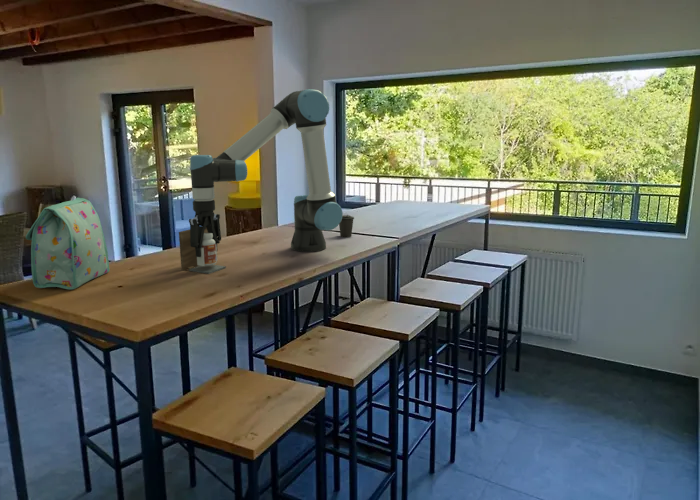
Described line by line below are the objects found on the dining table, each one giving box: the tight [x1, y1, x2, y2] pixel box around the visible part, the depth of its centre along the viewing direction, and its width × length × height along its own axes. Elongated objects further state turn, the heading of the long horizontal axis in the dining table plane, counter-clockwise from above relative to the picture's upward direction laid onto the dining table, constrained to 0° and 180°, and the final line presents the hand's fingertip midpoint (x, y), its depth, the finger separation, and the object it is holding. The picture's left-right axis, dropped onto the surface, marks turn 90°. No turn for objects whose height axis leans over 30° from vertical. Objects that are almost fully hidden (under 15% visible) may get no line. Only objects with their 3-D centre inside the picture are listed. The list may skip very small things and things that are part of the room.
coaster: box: [188, 264, 226, 275], centre depth 184 cm, size 9×9×1 cm
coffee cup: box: [338, 214, 355, 238], centre depth 244 cm, size 8×8×10 cm
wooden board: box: [178, 228, 208, 271], centre depth 188 cm, size 4×16×14 cm, turn 155°
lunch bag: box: [25, 197, 111, 290], centre depth 166 cm, size 23×16×27 cm
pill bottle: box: [202, 233, 217, 266], centre depth 182 cm, size 6×6×11 cm
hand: (207, 263), depth 183 cm, fingers closed on pill bottle, 6 cm apart
